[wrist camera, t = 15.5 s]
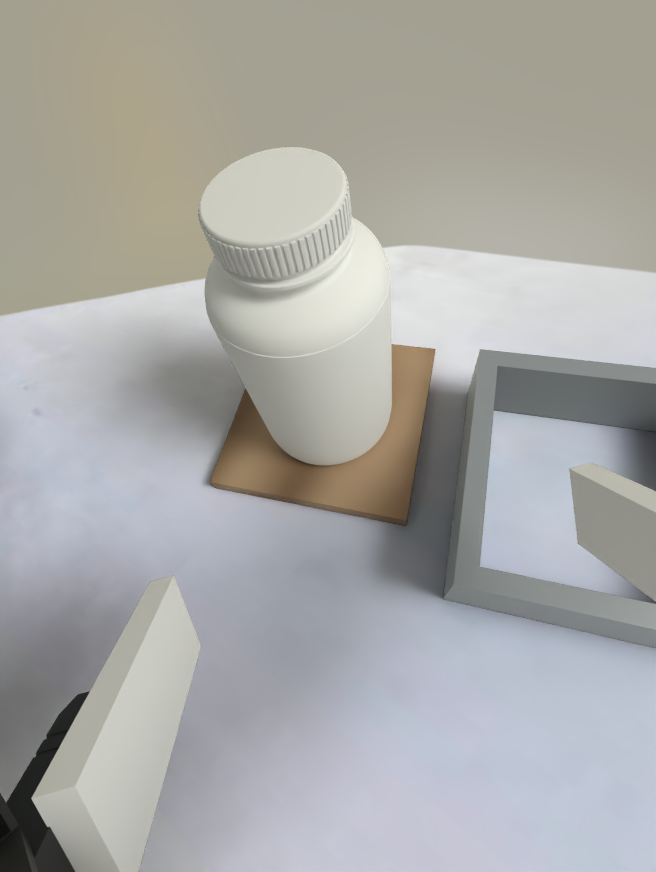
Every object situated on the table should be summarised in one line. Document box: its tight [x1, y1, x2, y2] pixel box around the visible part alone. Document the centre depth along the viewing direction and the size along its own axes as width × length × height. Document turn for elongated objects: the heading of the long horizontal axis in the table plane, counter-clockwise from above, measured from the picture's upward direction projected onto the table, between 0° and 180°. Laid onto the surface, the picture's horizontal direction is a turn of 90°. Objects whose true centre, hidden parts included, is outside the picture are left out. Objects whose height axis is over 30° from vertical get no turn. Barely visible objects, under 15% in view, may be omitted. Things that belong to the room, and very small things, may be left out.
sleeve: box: [443, 349, 656, 648], centre depth 23 cm, size 13×13×4 cm
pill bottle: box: [198, 147, 392, 466], centre depth 22 cm, size 8×8×15 cm
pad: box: [210, 344, 435, 526], centre depth 29 cm, size 12×12×1 cm
